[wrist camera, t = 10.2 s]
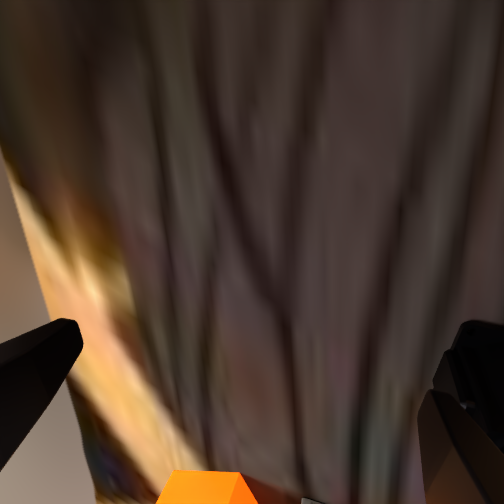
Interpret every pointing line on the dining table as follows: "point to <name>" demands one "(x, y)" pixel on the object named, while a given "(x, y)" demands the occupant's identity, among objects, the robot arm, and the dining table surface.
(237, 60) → the dining table surface
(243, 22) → the dining table surface
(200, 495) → the orange juice
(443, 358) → the robot arm
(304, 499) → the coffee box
